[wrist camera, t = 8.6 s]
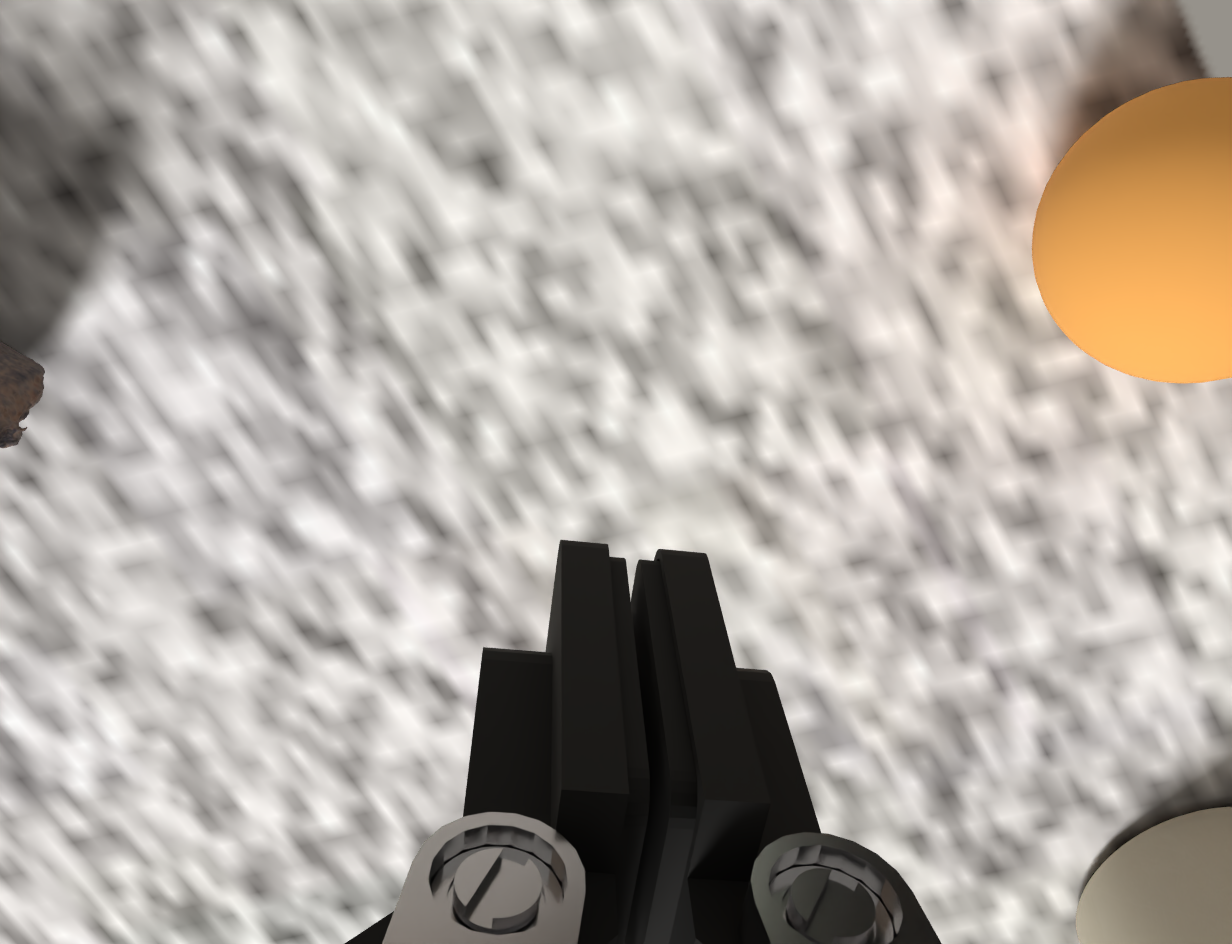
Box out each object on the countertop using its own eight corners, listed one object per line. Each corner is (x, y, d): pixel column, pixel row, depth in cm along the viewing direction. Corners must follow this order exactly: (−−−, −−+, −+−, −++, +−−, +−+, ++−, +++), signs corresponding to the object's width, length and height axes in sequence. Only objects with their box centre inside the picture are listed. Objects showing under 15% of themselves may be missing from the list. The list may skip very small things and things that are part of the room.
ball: (1370, 311, 22) (1140, 472, 23) (1170, 133, 24) (963, 283, 25) (1530, 163, 17) (1220, 380, 17) (1253, -51, 19) (983, 146, 19)
